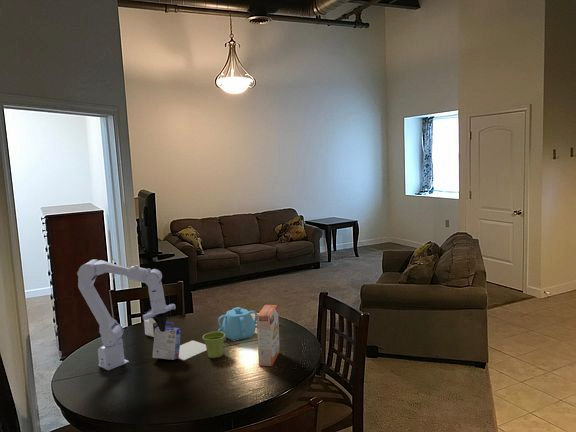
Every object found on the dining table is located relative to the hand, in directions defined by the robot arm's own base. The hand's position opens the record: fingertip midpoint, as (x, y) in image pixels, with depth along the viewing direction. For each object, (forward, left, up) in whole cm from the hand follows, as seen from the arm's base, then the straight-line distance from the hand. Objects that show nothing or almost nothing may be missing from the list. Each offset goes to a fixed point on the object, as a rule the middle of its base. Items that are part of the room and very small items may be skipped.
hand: (163, 331), depth 196 cm
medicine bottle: (+16, +30, -13) cm, 37 cm away
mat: (+12, 0, -13) cm, 18 cm away
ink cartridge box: (0, 0, -12) cm, 12 cm away
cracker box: (+25, -36, -13) cm, 46 cm away
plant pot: (+15, -14, -13) cm, 24 cm away
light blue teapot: (+36, -7, -13) cm, 39 cm away
